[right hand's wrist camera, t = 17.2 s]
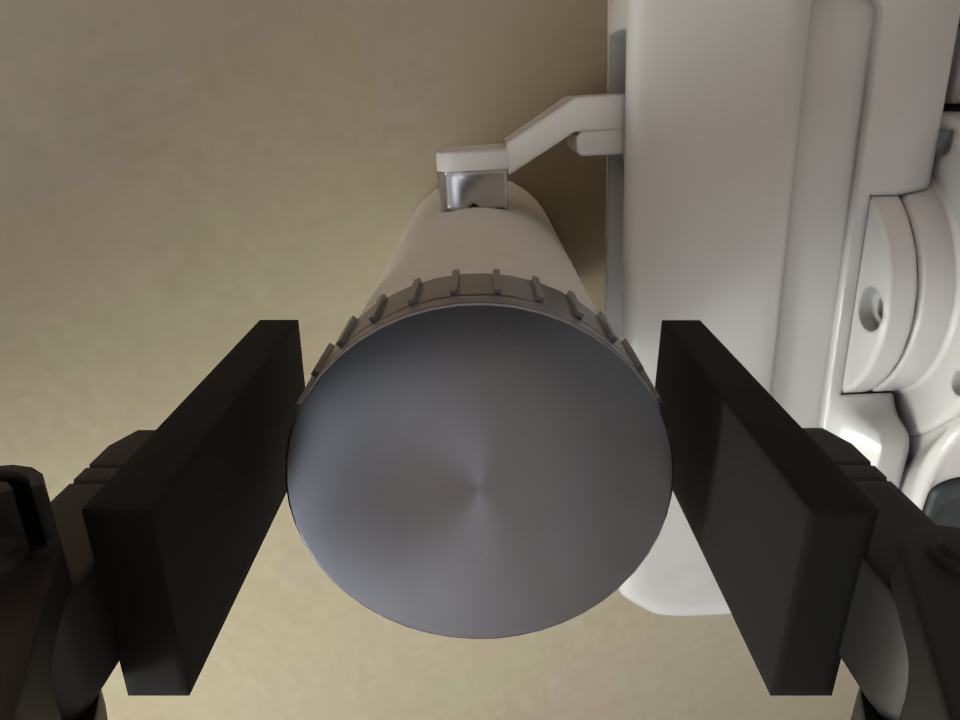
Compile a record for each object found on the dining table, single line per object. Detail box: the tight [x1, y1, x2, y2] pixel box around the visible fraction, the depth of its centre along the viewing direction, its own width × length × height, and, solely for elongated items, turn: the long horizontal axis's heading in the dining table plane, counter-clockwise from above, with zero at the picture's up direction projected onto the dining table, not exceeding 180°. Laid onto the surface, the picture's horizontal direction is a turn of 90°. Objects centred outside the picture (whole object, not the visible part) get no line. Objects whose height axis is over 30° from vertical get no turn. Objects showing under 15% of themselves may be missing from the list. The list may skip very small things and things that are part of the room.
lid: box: [285, 269, 674, 639], centre depth 11 cm, size 6×6×2 cm
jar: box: [361, 180, 598, 316], centre depth 18 cm, size 6×6×15 cm
